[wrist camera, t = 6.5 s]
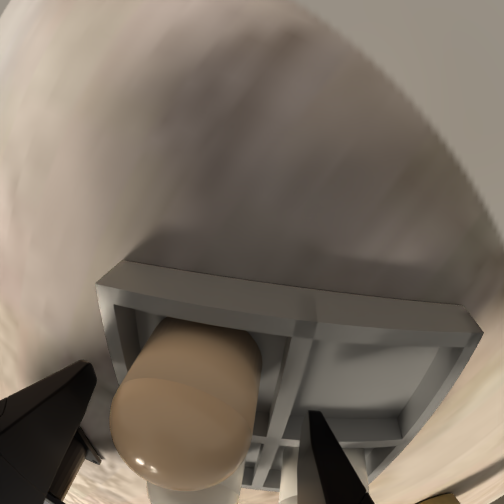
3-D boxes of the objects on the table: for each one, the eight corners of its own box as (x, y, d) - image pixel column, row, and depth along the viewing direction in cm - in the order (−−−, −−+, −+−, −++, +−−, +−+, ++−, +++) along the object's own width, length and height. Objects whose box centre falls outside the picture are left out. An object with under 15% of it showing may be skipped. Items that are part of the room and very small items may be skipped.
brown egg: (255, 401, 11) (236, 518, 6) (157, 381, 11) (109, 483, 6) (269, 321, 9) (249, 473, 4) (146, 300, 10) (63, 416, 5)
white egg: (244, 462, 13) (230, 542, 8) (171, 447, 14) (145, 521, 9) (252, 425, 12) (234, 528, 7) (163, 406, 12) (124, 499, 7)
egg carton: (358, 468, 14) (360, 491, 12) (157, 444, 15) (149, 466, 13) (462, 305, 9) (483, 332, 7) (122, 260, 10) (95, 283, 8)
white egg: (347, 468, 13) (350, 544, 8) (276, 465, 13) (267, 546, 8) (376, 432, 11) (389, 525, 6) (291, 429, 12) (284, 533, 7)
